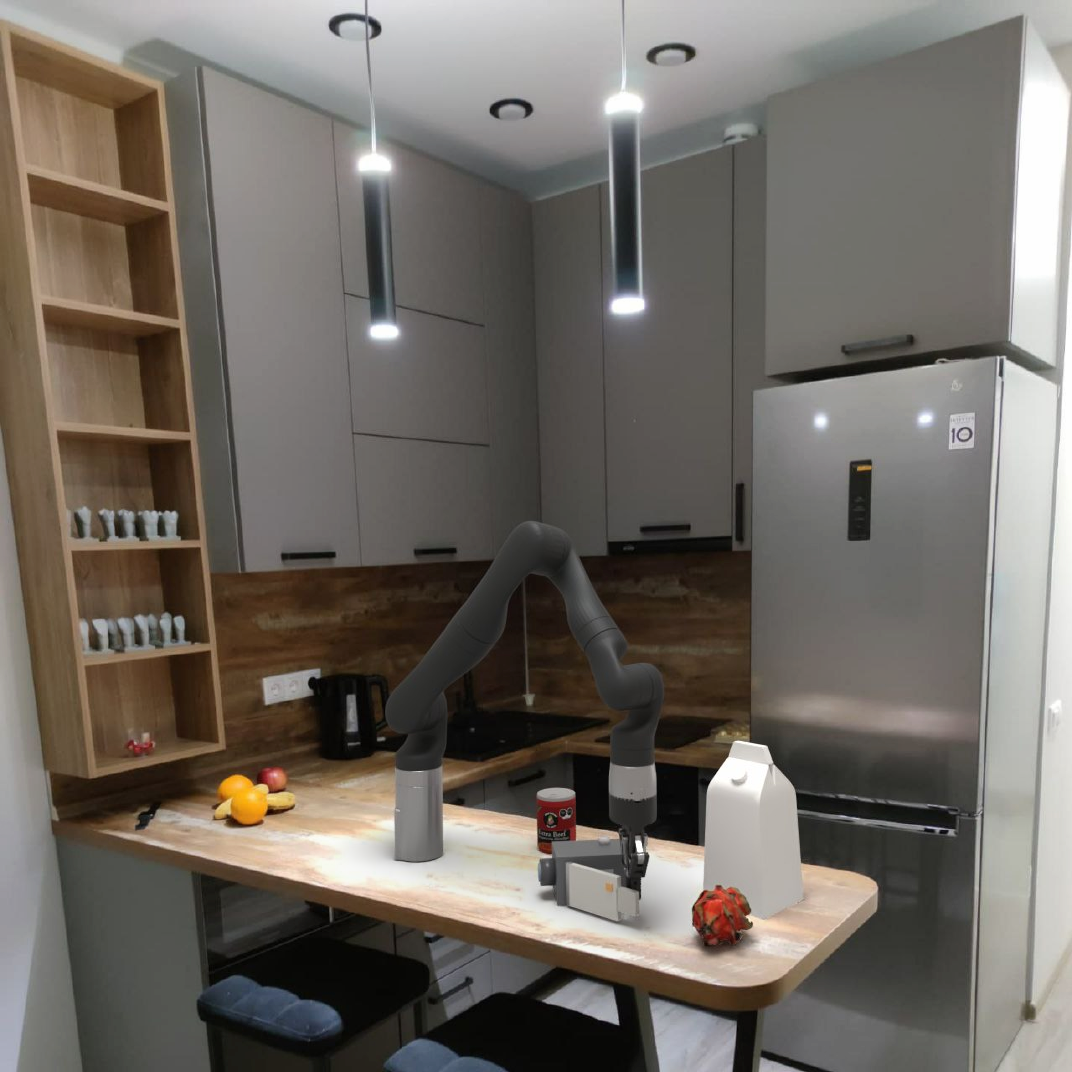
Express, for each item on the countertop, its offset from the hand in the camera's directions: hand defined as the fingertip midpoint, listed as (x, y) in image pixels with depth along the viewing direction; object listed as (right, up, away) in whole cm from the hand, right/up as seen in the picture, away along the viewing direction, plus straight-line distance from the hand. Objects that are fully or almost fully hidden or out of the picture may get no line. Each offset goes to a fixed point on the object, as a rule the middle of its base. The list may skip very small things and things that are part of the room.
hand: (633, 898), depth 139 cm
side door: (-5, -3, +1) cm, 6 cm away
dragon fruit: (+12, -3, -8) cm, 15 cm away
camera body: (-8, -4, +10) cm, 13 cm away
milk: (+21, -4, +8) cm, 23 cm away
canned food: (-11, -5, +34) cm, 36 cm away
